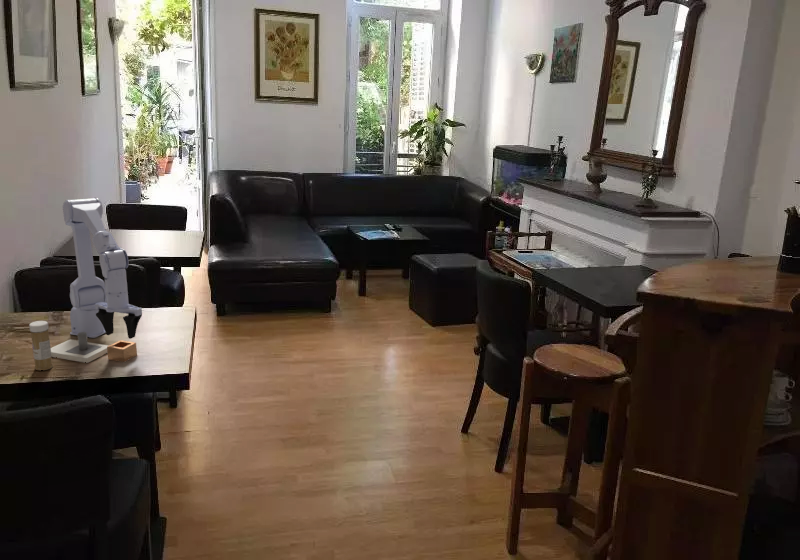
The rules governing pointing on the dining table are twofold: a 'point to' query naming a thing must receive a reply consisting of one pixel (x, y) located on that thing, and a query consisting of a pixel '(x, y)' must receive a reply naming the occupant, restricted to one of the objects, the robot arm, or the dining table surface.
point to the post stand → (79, 349)
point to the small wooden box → (122, 351)
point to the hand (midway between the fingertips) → (120, 335)
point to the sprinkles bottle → (41, 345)
